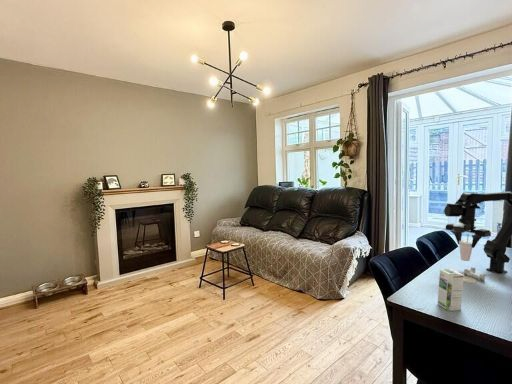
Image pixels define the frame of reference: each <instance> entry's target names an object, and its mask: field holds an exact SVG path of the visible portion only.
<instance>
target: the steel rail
mask: <svg viewBox="0 0 512 384" xmlns="http://www.w3.org/2000/svg"><path fill="white" fill-rule="evenodd" d="M463 271H464V272H463V274H464V276H467V277H471V278H474V279H475V280H476V281H477V280H478V281H479V282H484V283H485V280H486V275H485V274H483V273H480V274H478V273H476V267H470V269H467V268H464V269H463Z"/></svg>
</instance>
